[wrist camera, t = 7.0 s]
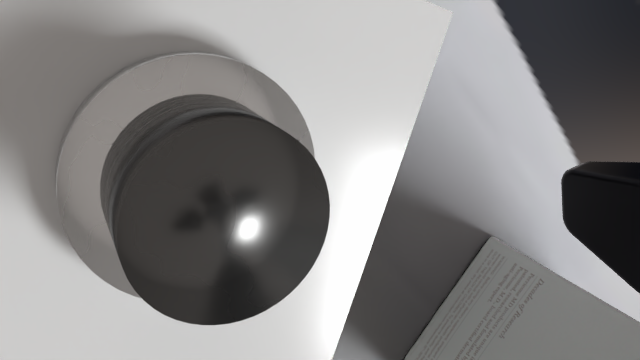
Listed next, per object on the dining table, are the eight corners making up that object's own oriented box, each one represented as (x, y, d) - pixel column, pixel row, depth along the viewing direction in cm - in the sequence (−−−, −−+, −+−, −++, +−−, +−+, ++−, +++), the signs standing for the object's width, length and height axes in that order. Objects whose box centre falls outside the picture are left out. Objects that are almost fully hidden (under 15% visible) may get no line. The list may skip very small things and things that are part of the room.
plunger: (238, 269, 21) (349, 423, 14) (-43, 236, 17) (-82, 429, 10) (312, 28, 19) (479, 67, 12) (23, -74, 15) (31, -102, 8)
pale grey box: (256, 299, 22) (321, 390, 18) (-247, 251, 15) (-360, 379, 11) (351, 0, 20) (453, 12, 16) (-179, -209, 13) (-282, -300, 9)
